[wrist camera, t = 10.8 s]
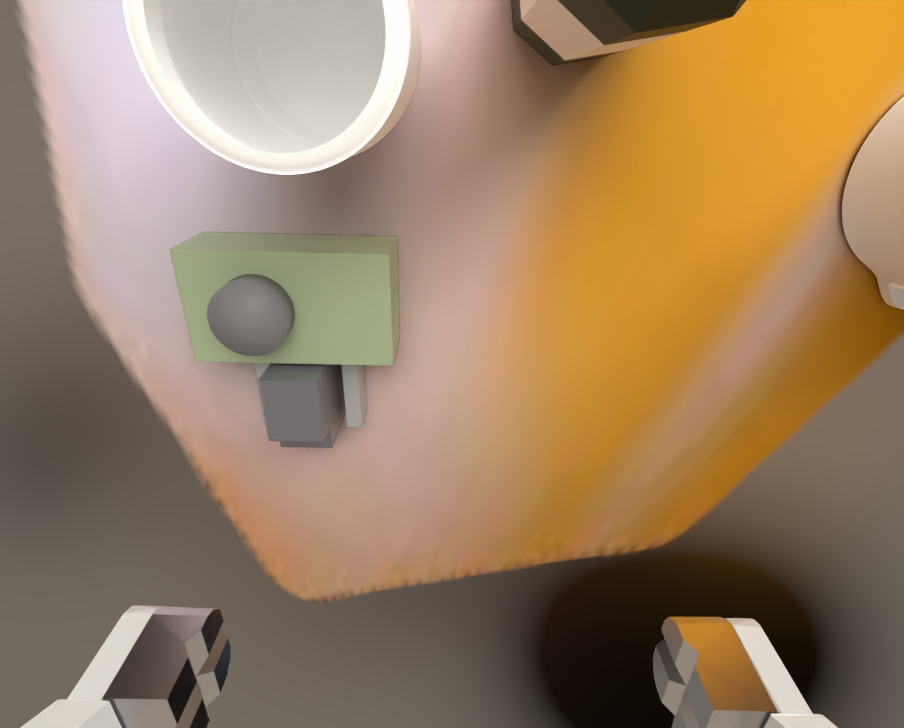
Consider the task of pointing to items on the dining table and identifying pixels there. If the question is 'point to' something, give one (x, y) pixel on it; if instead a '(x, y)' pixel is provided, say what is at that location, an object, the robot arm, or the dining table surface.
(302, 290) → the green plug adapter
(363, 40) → the jar
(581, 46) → the wine bottle
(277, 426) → the upright grey box
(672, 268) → the dining table surface
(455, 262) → the dining table surface
